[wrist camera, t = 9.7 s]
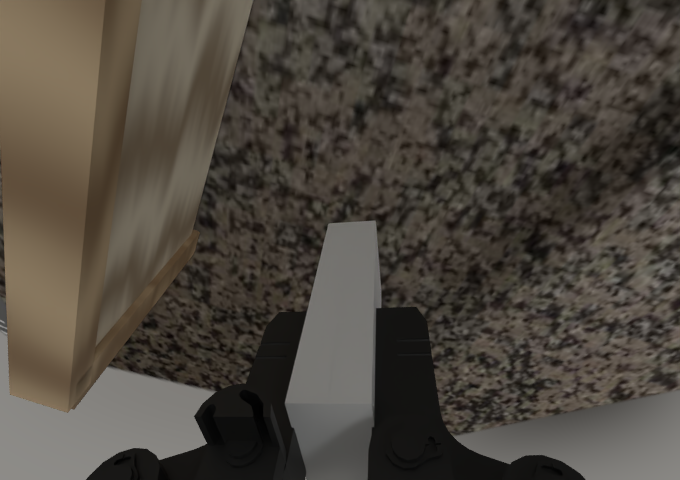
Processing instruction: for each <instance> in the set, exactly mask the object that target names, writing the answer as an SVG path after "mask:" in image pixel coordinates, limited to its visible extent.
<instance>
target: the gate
mask: <svg viewBox="0 0 680 480" xmlns="http://www.w3.org/2000/svg"><path fill="white" fill-rule="evenodd" d="M252 3H253V0H0V147H1V173H2V200H3V226H4V253H5V279H6V306H7V332H8V357H9V358H8V359H9V385H10V395H13V396H16V397H19V398H23V399H26V400H29V401H32V402H35V403H38V404H42V405H45V406H48V407H51V408H54V409H57V410H60V411H64V412H67V413H68V412H69V411H70V409H75V408H76V406H77V405H78V404H79V402H80V401H81V400H82V398H83V397H84V396H85V395H86V393H87V392H88V391H89V389H90V388H91V387H92V386H93V384H94V383H95V382H96V380H97V379H98V378H99V377H100V375H101V374H102V373H103V371H104V370H105V369H106V367H107V366H108V365H109V364H110V362H111V361H112V360H113V358H114V357H115V356H116V354H117V353H118V352H119V351H120V349H121V348H122V347H123V345H124V344H125V343H126V341H127V340H128V339H129V337H130V336H131V335H132V334H133V332H134V331H135V330H136V328H137V327H138V326H139V324H140V323H141V322H142V321H143V319H144V318H145V317H146V315H147V314H148V313H149V311H150V310H151V309H152V308H153V306H154V305H155V304H156V302H157V301H158V300H159V298H160V297H161V296H162V295H163V293H164V292H165V291H166V289H167V288H168V287H169V285H170V284H171V283H172V282H173V280H174V279H175V278H176V276H177V275H178V274H179V272H180V271H181V270H182V269H183V267H184V266H185V265H186V263H187V262H188V261H189V259H190V258H191V257H192V256H193V254H194V252H195V249H196V245H197V241H198V238H199V234H200V232H198V231H196V230H193V227H194V223H195V219H196V216H197V212H198V208H199V204H200V200H201V197H202V193H203V189H204V185H205V182H206V178H207V174H208V170H209V166H210V163H211V159H212V155H213V151H214V147H215V144H216V140H217V136H218V132H219V128H220V125H221V121H222V117H223V113H224V109H225V106H226V102H227V98H228V94H229V90H230V87H231V83H232V79H233V75H234V71H235V68H236V64H237V60H238V56H239V53H240V49H241V45H242V41H243V37H244V34H245V30H246V26H247V22H248V18H249V15H250V11H251V7H252Z"/></svg>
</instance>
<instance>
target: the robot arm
mask: <svg viewBox="0 0 680 480" xmlns="http://www.w3.org/2000/svg"><path fill="white" fill-rule="evenodd" d="M194 417H195V419H196V421H197V423H198V425H199V427H200V430H201V431H202V434H203V436H204V438H205V440H206V442H207V444H206V445H204V446H202V447H199V448H197V449H194V450H191V451H188V452H185V453H182V454H178V455H175V456H172V457H169V458H165V459H162V460H158V458H157V456H156V455H155V454H153V453H152V452H150V451H149V450H148V449H140V448H133V449H130V450H126V451H123V452H120V453H118V454H116V455H115V456H113V457H111V458H110V459H108V460H107V461H105V462H103V463H102V464H101V465H100V466H99V467H98V468H97V469H96V470H95V471H94V472H93V473H92V474H91V475H90V476H89V477H88V478H87V479H86V480H305V477H306V479H307V480H585V479H584V478H583V476H582V475H581V474H580V473H578V472H577V471H575V470H574V469H572V468H571V467H569V466H568V465H566V464H565V463H563V462H561V461H559V460H556V459H553V458H549V457H547V456H543V455H533V456H532V455H529V456H524V457H522V458H520V459H518V460H515V461H513V462H512V463H511V464H507V463H504V462H501V461H498V460H495V459H492V458H489V457H486V456H483V455H480V454H478V453H476V452H474V451H472V450H469V449H468V448H466V447H465V446H463V445H462V444H461V443H459V442H458V441H457V440H456V439H455V438H454V437H453V436H452V435H451V434H450V433H449V431H448V430H447V428H446V426H445V424H444V423H443V420H442V417H441V413H440V407H439V401H438V394H437V387H436V380H435V374H434V367H433V360H432V355H431V347H430V342H429V333H428V327H427V321H426V320H425V318H424V317H423V316H422V314H421V313H420V312H419V310H418V309H417V308H416V307H401V308H381V281H380V268H379V256H378V243H377V230H376V221H361V222H345V223H329V224H328V228H327V232H326V236H325V240H324V244H323V249H322V253H321V257H320V261H319V265H318V269H317V273H316V277H315V281H314V285H313V290H312V294H311V298H310V302H309V306H308V310H307V312H279V313H278V314H277V315H276V317H275V318H274V319H273V320H272V321H271V322H270V323H269V324H268V325H267V327H266V330H265V332H264V335H263V338H262V341H261V346H259V349H258V352H257V354H256V360H254V363H253V366H252V368H251V371H250V374H249V377H248V379H247V382H246V384H238V385H232V386H228V387H226V388H224V389H222V390H220V391H218V392H216V393H214V394H213V395H212V396H211V397H210V398H209V399H208V400H206V401H205V402H204V403H203V404H202V405H201V407H200V409H199V410H198V412H197V413H196V415H195V416H194Z"/></svg>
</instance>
